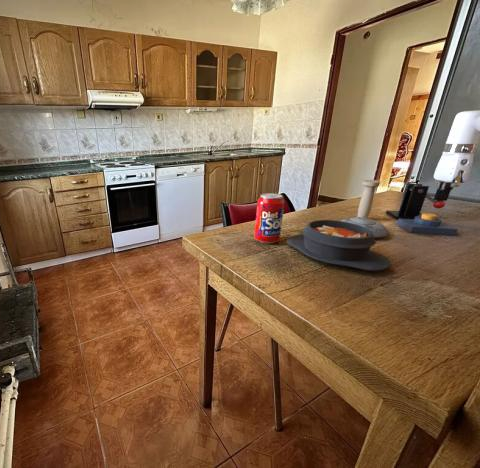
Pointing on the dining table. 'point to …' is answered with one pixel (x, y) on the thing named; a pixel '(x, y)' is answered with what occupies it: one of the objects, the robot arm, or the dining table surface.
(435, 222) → the button box
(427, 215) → the button
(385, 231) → the flying saucer
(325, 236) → the casserole
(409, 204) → the bracket
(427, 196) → the lever
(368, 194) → the handle
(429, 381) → the dining table surface
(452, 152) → the robot arm
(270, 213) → the soda can
